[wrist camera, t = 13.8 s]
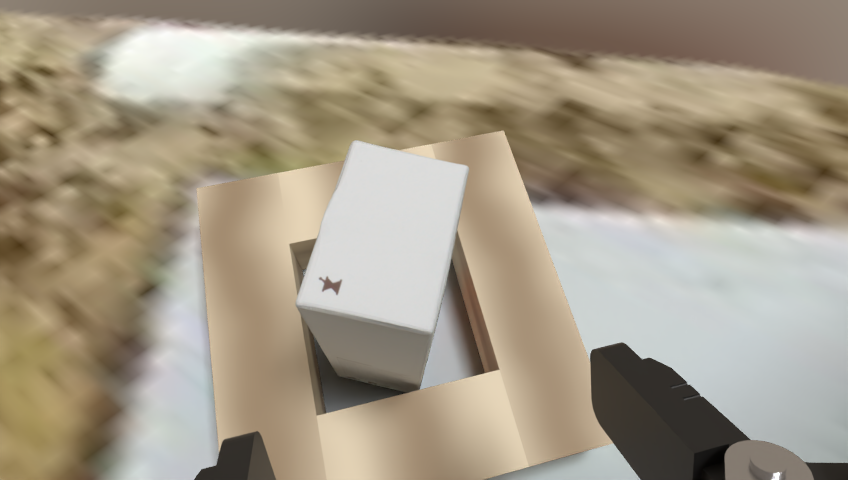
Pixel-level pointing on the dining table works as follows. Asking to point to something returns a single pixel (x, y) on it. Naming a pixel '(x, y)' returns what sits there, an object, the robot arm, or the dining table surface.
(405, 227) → the skincare box
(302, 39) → the dining table surface
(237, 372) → the socket block
